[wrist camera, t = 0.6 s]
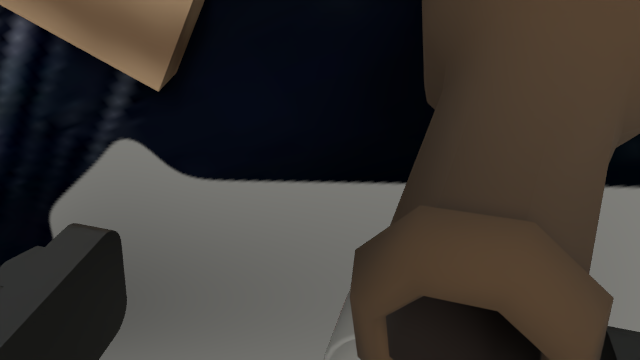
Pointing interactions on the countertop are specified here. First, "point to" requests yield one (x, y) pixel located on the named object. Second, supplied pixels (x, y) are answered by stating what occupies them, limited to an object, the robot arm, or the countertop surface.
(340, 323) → the cup
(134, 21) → the cabinet with open drawer
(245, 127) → the countertop surface
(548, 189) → the beer bottle
